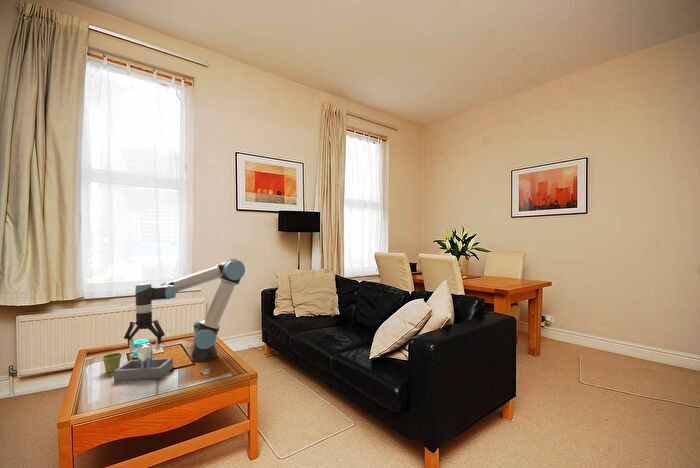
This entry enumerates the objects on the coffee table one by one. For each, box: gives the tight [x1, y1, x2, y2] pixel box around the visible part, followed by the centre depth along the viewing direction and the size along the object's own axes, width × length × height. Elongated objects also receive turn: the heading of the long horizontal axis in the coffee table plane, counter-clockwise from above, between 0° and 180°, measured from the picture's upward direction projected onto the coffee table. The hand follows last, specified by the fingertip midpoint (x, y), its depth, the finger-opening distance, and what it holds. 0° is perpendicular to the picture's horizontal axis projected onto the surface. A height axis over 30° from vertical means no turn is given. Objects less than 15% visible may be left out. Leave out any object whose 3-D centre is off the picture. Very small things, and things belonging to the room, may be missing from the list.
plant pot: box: [101, 352, 123, 374], centre depth 188 cm, size 9×9×9 cm
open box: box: [113, 357, 174, 383], centre depth 181 cm, size 23×15×6 cm, turn 96°
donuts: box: [130, 338, 151, 357], centre depth 211 cm, size 10×10×10 cm
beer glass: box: [137, 343, 154, 368], centre depth 181 cm, size 7×7×15 cm
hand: (144, 350), depth 182 cm, fingers open, 13 cm apart
